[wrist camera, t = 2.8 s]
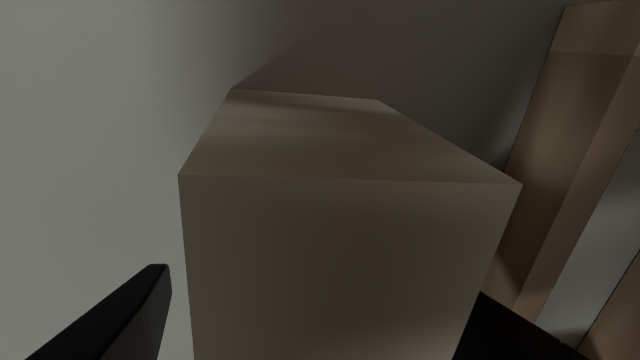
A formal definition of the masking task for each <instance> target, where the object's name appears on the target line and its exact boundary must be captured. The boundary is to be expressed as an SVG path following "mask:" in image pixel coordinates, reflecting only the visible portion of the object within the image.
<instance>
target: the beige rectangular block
mask: <svg viewBox="0 0 640 360" xmlns="http://www.w3.org/2000/svg"><path fill="white" fill-rule="evenodd" d="M178 184H179V195H180V206H181V217H182V228H183V239H184V250H185V261H186V272H187V283H188V294H189V305H190V316H191V327H192V338H193V349H194V360H452V357H453V355H454V353H455V350H456V348H457V345H458V343H459V340H460V338H461V335H462V333H463V331H464V328H465V326H466V323H467V321H468V318H469V316H470V313H471V311H472V308H473V306H474V304H475V301H476V299H477V296H478V294H479V291H480V289H481V286H482V284H483V281H484V279H485V277H486V274H487V272H488V269H489V267H490V264H491V262H492V259H493V257H494V255H495V252H496V250H497V247H498V245H499V242H500V240H501V237H502V235H503V232H504V230H505V228H506V225H507V223H508V220H509V218H510V215H511V213H512V210H513V208H514V206H515V203H516V201H517V198H518V196H519V193H520V191H521V188H522V186H523V184H521V183H520V182H518V181H516V180H514V179H513V178H511V177H509V176H508V175H506V174H504V173H502V172H501V171H499V170H497V169H496V168H494V167H492V166H490V165H489V164H487V163H485V162H484V161H482V160H480V159H478V158H477V157H475V156H473V155H472V154H470V153H468V152H466V151H465V150H463V149H461V148H460V147H458V146H456V145H454V144H453V143H451V142H449V141H448V140H446V139H444V138H442V137H441V136H439V135H437V134H436V133H434V132H432V131H430V130H429V129H427V128H425V127H424V126H422V125H420V124H418V123H417V122H415V121H413V120H412V119H410V118H408V117H406V116H405V115H403V114H401V113H400V112H398V111H396V110H394V109H393V108H391V107H389V106H388V105H386V104H384V103H382V102H381V101H379V100H375V99H362V98H350V97H337V96H325V95H312V94H300V93H287V92H275V91H263V90H250V89H238V88H231V90H230V91H229V93H228V95H227V96H226V98H225V99H224V101H223V103H222V104H221V106H220V107H219V109H218V111H217V112H216V114H215V115H214V117H213V119H212V120H211V122H210V123H209V125H208V127H207V128H206V130H205V131H204V133H203V135H202V136H201V138H200V139H199V141H198V143H197V144H196V146H195V147H194V149H193V151H192V152H191V154H190V155H189V157H188V159H187V160H186V162H185V163H184V165H183V167H182V168H181V170H180V171H179V173H178Z"/></svg>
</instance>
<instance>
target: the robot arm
mask: <svg viewBox="0 0 640 360" xmlns="http://www.w3.org/2000/svg"><path fill="white" fill-rule="evenodd" d="M171 296H172V287H171V278H170V270H169V266H168V265H167V264H149V265H148V266H146V267H145V268H144V269H142V270H141V271H140V272H138V273H137V274H136V275H134V276H133V277H132V278H130V279H129V280H128V281H127V282H125V283H124V284H123V285H121V286H120V287H119V288H117V289H116V290H115V291H113V292H112V293H111V294H110V295H108V296H107V297H106V298H104V299H103V300H102V301H100V302H99V303H98V304H97V305H95V306H94V307H93V308H91V309H90V310H89V311H87V312H86V313H85V314H83V315H82V316H81V317H80V318H78V319H77V320H76V321H74V322H73V323H72V324H70V325H69V326H68V327H67V328H65V329H64V330H63V331H61V332H60V333H59V334H57V335H56V336H55V337H53V338H52V339H51V340H50V341H48V342H47V343H46V344H44V345H43V346H42V347H40V348H39V349H38V350H37V351H35V352H34V353H33V354H31V355H30V356H29V357H27V358H26V359H25V360H157V357H158V353H159V349H160V345H161V340H162V336H163V332H164V327H165V323H166V319H167V315H168V310H169V306H170V302H171ZM452 360H591V359H589V358H587V357H586V356H584V355H582V354H581V353H579V352H578V351H576V350H574V349H573V348H571V347H570V346H568V345H567V344H565V343H561V342H560V340H558V339H557V338H555V337H554V336H552V335H550V334H549V333H547V332H546V331H544V330H542V329H541V328H539V327H537V326H536V325H534V324H533V323H531V322H529V321H528V320H526V319H525V318H523V317H521V316H520V315H518V314H517V313H515V312H513V311H512V310H510V309H509V308H507V307H505V306H504V305H502V304H501V303H499V302H497V301H496V300H494V299H493V298H491V297H489V296H488V295H486V294H485V293H483V292H481V291H479V294H478V296H477V299H476V301H475V304H474V306H473V308H472V311H471V313H470V316H469V318H468V321H467V323H466V326H465V328H464V331H463V333H462V335H461V338H460V340H459V343H458V345H457V348H456V350H455V353H454V355H453V357H452Z"/></svg>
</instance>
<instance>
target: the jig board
mask: <svg viewBox="0 0 640 360" xmlns="http://www.w3.org/2000/svg"><path fill="white" fill-rule="evenodd" d="M639 124H640V0H619V1H609V2H598V3H587V4H577V5H566V7H565V9H564V12H563V15H562V17H561V20H560V23H559V25H558V28H557V31H556V34H555V36H554V39H553V42H552V44H551V47H550V50H549V52H548V55H547V58H546V60H545V63H544V66H543V69H542V71H541V74H540V77H539V79H538V82H537V85H536V87H535V90H534V93H533V95H532V98H531V101H530V103H529V106H528V109H527V112H526V114H525V117H524V120H523V122H522V125H521V128H520V130H519V133H518V136H517V138H516V141H515V144H514V147H513V149H512V152H511V155H510V157H509V160H508V163H507V165H506V168H505V171H504V174H506V175H508V176H509V177H511V178H513V179H514V180H516V181H518V182H520V183H521V184H523V186H522V188H521V191H520V193H519V196H518V198H517V201H516V203H515V206H514V208H513V210H512V213H511V215H510V218H509V220H508V223H507V225H506V228H505V230H504V232H503V235H502V237H501V240H500V242H499V245H498V247H497V250H496V252H495V255H494V257H493V259H492V262H491V264H490V267H489V269H488V272H487V274H486V277H485V279H484V281H483V284H482V286H481V289H480V291H481V292H483V293H485V294H486V295H488V296H489V297H491V298H493V299H494V300H496V301H497V302H499V303H501V304H502V305H504V306H505V307H507V308H509V309H510V310H512V311H513V312H515V313H517V314H518V315H520V316H521V317H523V318H525V319H526V320H528V321H529V322H531V323H533V324H534V323H535V321H536V319H537V317H538V315H539V313H540V311H541V309H542V307H543V306H544V304H545V302H546V300H547V298H548V296H549V294H550V292H551V290H552V289H553V287H554V285H555V283H556V281H557V279H558V277H559V275H560V273H561V272H562V270H563V268H564V266H565V264H566V262H567V260H568V258H569V256H570V255H571V253H572V251H573V249H574V247H575V245H576V243H577V241H578V239H579V238H580V236H581V234H582V232H583V230H584V228H585V226H586V224H587V222H588V220H589V219H590V217H591V215H592V213H593V211H594V209H595V207H596V205H597V203H598V202H599V200H600V198H601V196H602V194H603V192H604V190H605V188H606V186H607V185H608V183H609V181H610V179H611V177H612V175H613V173H614V171H615V169H616V168H617V166H618V164H619V162H620V160H621V158H622V156H623V154H624V152H625V151H626V149H627V147H628V145H629V143H630V141H631V139H632V137H633V135H634V133H635V132H636V130H637V128H638V126H639ZM576 351H578V352H579V353H581V354H582V355H584V356H586V357H587V358H589V359H591V360H640V252H639V253H638V255H637V256H636V258H635V259H634V261H633V263H632V264H631V266H630V267H629V269H628V270H627V272H626V274H625V275H624V277H623V278H622V280H621V281H620V283H619V285H618V286H617V288H616V289H615V291H614V292H613V294H612V295H611V297H610V299H609V300H608V302H607V303H606V305H605V306H604V308H603V310H602V311H601V313H600V314H599V316H598V317H597V319H596V321H595V322H594V324H593V325H592V327H591V328H590V330H589V332H588V333H587V335H586V336H585V338H584V339H583V341H582V343H581V344H580V346H579V347H578V349H577V350H576Z"/></svg>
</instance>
